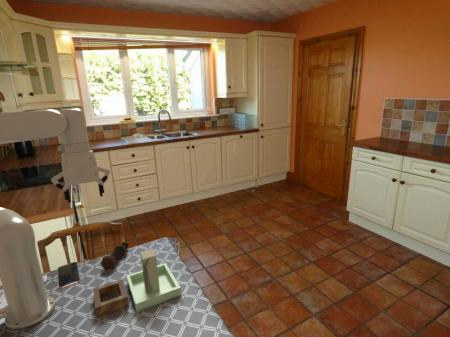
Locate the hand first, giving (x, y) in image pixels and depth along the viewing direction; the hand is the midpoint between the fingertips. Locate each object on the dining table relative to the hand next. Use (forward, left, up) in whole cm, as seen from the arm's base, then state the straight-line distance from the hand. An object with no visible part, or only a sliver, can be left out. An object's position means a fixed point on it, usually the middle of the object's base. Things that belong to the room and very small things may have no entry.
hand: (85, 198), depth 93 cm
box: (+15, -17, -30) cm, 37 cm away
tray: (+15, -17, -30) cm, 38 cm away
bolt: (+8, +10, -31) cm, 33 cm away
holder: (+2, -16, -30) cm, 34 cm away
